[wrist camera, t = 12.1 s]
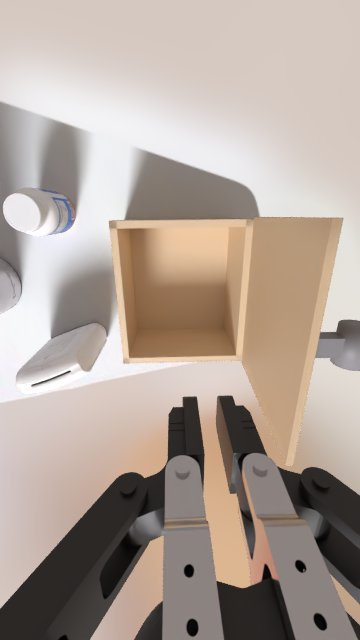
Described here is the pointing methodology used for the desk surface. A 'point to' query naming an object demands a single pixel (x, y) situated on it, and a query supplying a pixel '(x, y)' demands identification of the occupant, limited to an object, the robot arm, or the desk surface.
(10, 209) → the pill bottle
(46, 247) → the desk surface
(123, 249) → the carton
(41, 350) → the photo printer
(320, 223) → the carton lid
